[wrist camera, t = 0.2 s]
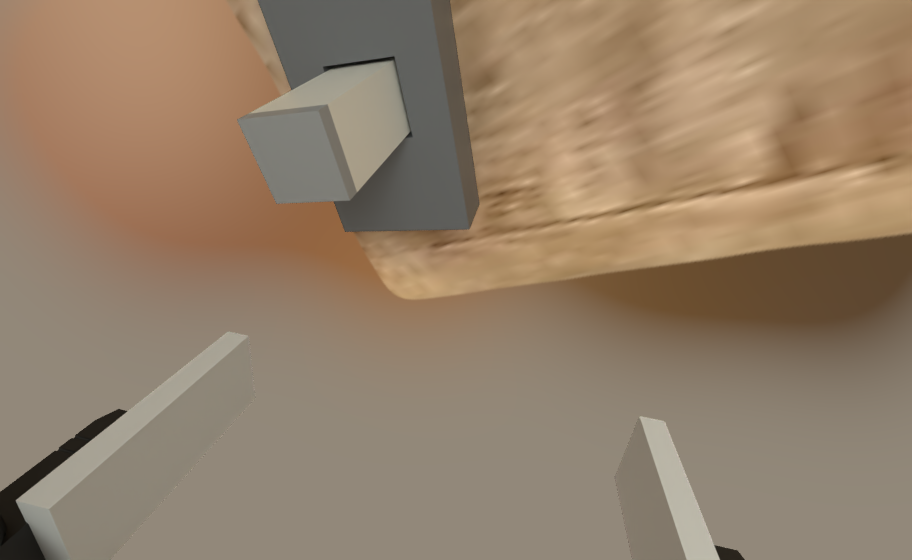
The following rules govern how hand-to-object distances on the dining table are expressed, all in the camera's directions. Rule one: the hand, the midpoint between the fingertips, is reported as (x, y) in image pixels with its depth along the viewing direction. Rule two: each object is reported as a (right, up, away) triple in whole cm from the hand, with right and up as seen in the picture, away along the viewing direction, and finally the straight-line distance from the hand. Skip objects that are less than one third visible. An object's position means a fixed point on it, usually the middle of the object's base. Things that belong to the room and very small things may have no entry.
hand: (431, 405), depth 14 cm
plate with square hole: (-5, +20, +20) cm, 29 cm away
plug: (-5, +19, +20) cm, 28 cm away
